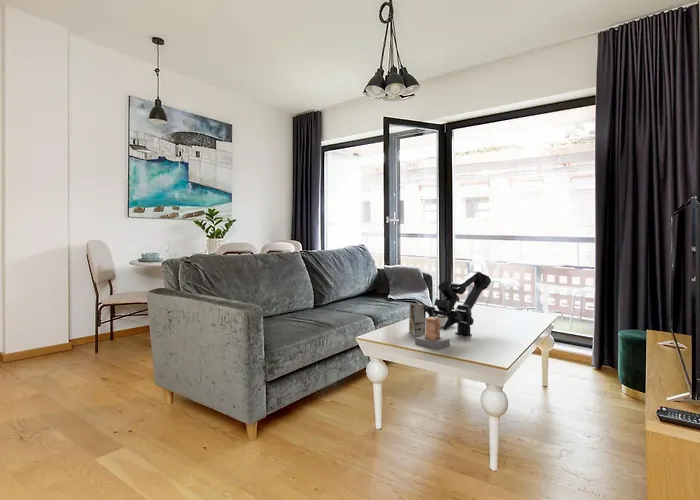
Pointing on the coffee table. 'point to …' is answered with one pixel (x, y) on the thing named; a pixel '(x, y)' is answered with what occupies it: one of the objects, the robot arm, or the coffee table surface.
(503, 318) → the coffee table surface
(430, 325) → the peg
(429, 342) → the socket block
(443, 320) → the architectural model
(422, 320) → the coffee box
